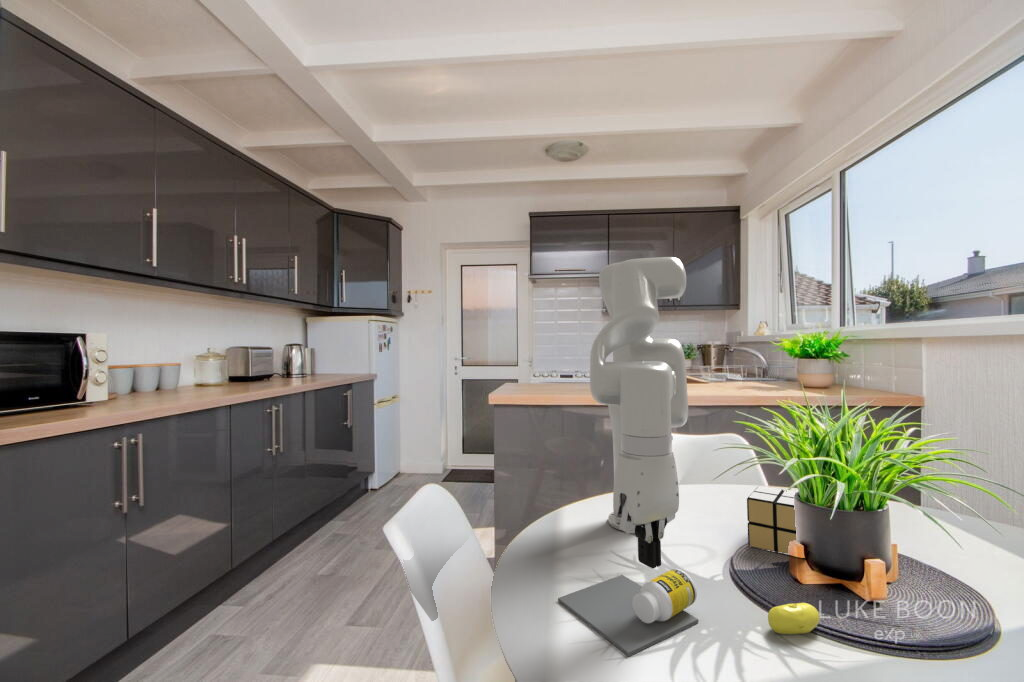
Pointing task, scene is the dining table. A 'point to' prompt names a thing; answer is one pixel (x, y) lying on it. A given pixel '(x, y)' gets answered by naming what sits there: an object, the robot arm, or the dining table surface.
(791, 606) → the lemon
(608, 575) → the dining table surface
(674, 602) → the supplement bottle
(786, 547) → the puzzle cube
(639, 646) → the charcoal mat
